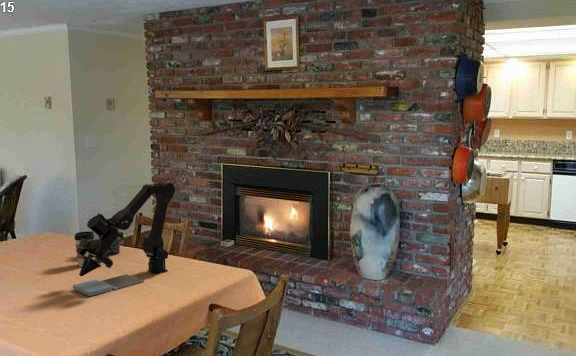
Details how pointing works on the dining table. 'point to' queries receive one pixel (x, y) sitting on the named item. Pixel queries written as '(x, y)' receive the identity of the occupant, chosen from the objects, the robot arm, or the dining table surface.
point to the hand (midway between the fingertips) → (80, 275)
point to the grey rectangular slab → (92, 287)
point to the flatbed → (122, 281)
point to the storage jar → (115, 246)
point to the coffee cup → (78, 237)
